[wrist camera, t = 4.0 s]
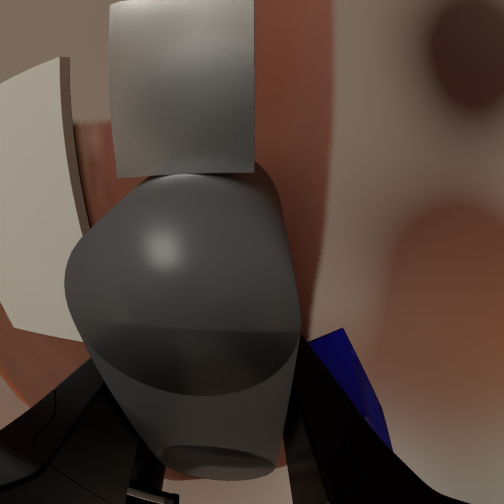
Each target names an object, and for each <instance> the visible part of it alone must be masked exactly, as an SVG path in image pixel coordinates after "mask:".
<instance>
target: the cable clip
mask: <svg viewBox="0 0 504 504" xmlns="http://www.w3.org/2000/svg"><path fill="white" fill-rule="evenodd" d="M309 345H310V346H311V347H312V349H313V350H314V351H315V353H316V354H317V355H318V357H319V358H320V359H321V361H322V362H323V364H324V365H325V366H326V368H327V369H328V370H329V372H330V373H331V374H332V376H333V377H334V378H335V380H336V381H337V382H338V384H339V385H340V386H341V388H342V389H343V390H344V392H345V393H346V394H347V396H348V397H349V398H350V400H351V401H352V402H353V404H354V405H355V406H356V408H357V409H358V410H359V413H361V414H362V416H363V417H364V418H365V420H366V421H367V422H368V424H369V425H370V426H371V427H372V429H373V430H374V431H375V432H376V434H377V435H378V436H379V437H380V438H381V439H382V441H383V442H384V443H385V444H386V445H387V446H388V447H389V448H390V449H391V450H392V451H393V449H392V445H391V441H390V437H389V433H388V429H387V425H386V421H385V418H384V414H383V410H382V407H381V405H380V403H379V401H378V398H377V396H376V394H375V392H374V390H373V388H372V385H371V383H370V381H369V379H368V377H367V375H366V373H365V371H364V369H363V367H362V365H361V363H360V360H359V358H358V357H357V354H356V352H355V350H354V348H353V346H352V344H351V342H350V340H349V338H348V336H347V334H346V332H345V330H344V329H343V328H340V329H338V330H335V331H333V332H331V333H328V334H326V335H323V336H321V337H318V338H316V339H313V340H311V341H309Z"/></svg>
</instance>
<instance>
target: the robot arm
mask: <svg viewBox="0 0 504 504" xmlns="http://www.w3.org/2000/svg"><path fill="white" fill-rule="evenodd" d="M283 440H284V446H285V453H286V460H287V467H288V473H289V479H290V487H291V493H292V500H293V504H469V503H466V502H463V501H460V500H457V499H454V498H451V497H448V496H445V495H443V494H440V493H438V492H437V491H435V490H433V489H432V488H431V487H429V486H428V485H427V484H426V483H424V482H423V481H422V480H421V479H420V478H419V477H418V476H417V475H416V474H415V473H414V472H413V471H412V470H411V469H410V468H409V467H408V466H407V465H406V464H405V463H404V462H403V461H402V460H401V459H400V458H399V457H398V456H397V455H396V454H395V453H394V452H393V451H392V450H391V449H390V448H389V447H388V446H387V445H386V444H385V443H384V442H383V441H382V439H381V438H380V437H379V436H378V435H377V434H376V432H375V431H374V430H373V429H372V427H371V426H370V425H369V424H368V422H367V421H366V420H365V418H364V417H363V416H362V414H361V413H359V410H358V409H357V408H356V406H355V405H354V404H353V402H352V401H351V400H350V398H349V397H348V396H347V394H346V393H345V392H344V390H343V389H342V388H341V386H340V385H339V384H338V382H337V381H336V380H335V378H334V377H333V376H332V374H331V373H330V372H329V370H328V369H327V368H326V366H325V365H324V364H323V362H322V361H321V359H320V358H319V357H318V355H317V354H316V353H315V351H314V350H313V349H312V347H311V346H310V345H309V343H308V342H307V341H306V339H305V338H304V337H303V335H302V334H301V332H300V339H299V345H298V352H297V358H296V364H295V370H294V376H293V382H292V387H291V393H290V398H289V404H288V409H287V414H286V419H285V424H284V429H283ZM165 469H166V465H164V464H163V463H162V462H160V461H159V460H158V458H157V457H156V456H155V455H154V453H153V452H152V451H151V449H150V448H149V447H148V446H147V444H146V443H145V442H144V440H143V439H142V437H141V436H140V435H139V433H138V432H137V431H136V429H135V428H134V426H133V425H132V423H131V422H130V421H129V419H128V418H127V416H126V415H125V413H124V412H123V410H122V409H121V407H120V406H119V404H118V402H117V401H116V399H115V398H114V396H113V394H112V393H111V391H110V390H109V388H108V386H107V384H106V383H105V381H104V379H103V378H102V376H101V374H100V372H99V371H98V369H97V367H96V365H95V363H94V362H93V360H92V358H91V357H90V358H89V359H88V360H87V361H86V362H84V363H83V364H82V365H81V366H80V367H79V368H77V369H76V370H75V371H74V372H73V373H72V374H70V375H69V376H68V377H67V378H66V379H65V380H63V381H62V382H61V383H60V384H59V385H58V386H57V387H56V388H55V389H53V390H52V391H51V392H50V393H48V394H47V395H46V396H45V397H44V398H43V399H41V400H40V401H39V402H38V403H37V404H35V405H34V406H33V407H32V408H30V409H29V410H28V411H26V412H25V413H24V414H23V415H21V416H20V417H18V418H17V419H15V420H14V421H13V422H11V423H10V424H8V425H7V426H6V427H4V428H3V429H1V430H0V504H159V503H155V502H151V501H147V500H144V499H140V498H137V497H134V496H130V495H127V493H128V494H132V495H135V496H138V497H141V498H145V499H148V500H152V501H156V502H160V503H164V504H179V494H175V493H173V494H171V493H168V492H164V491H162V487H163V481H164V475H165Z"/></svg>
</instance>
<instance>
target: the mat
mask: <svg viewBox="0 0 504 504" xmlns="http://www.w3.org/2000/svg"><path fill="white" fill-rule="evenodd" d="M89 230H90V226H89V222H88V217H87V213H86V208H85V203H84V198H83V193H82V188H81V182H80V176H79V170H78V164H77V157H76V150H75V142H74V133H73V123H72V111H71V95H70V58H69V57H58V58H55V59H53V60H50V61H47V62H45V63H43V64H40V65H38V66H36V67H33V68H31V69H29V70H27V71H25V72H23V73H20V74H18V75H16V76H14V77H12V78H10V79H8V80H6V81H4V82H2V83H0V302H1V304H2V306H3V308H4V310H5V311H6V313H7V315H8V317H9V319H10V321H11V323H12V325H13V326H14V328H18V329H23V330H27V331H31V332H36V333H40V334H45V335H50V336H54V337H60V338H65V339H70V340H76V341H81V342H83V340H82V338H81V336H80V334H79V332H78V330H77V328H76V326H75V324H74V321H73V319H72V317H71V314H70V312H69V309H68V306H67V301H66V297H65V288H64V278H65V270H66V266H67V262H68V259H69V257H70V254H71V252H72V250H73V248H74V247H75V246H76V244H77V243H78V241H79V240H80V239H81V238H82V237H83V236H84V235H85V234H86V233H87V232H88V231H89Z"/></svg>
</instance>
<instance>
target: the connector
mask: <svg viewBox="0 0 504 504" xmlns="http://www.w3.org/2000/svg"><path fill="white" fill-rule="evenodd" d="M109 92H110V109H111V123H112V135H113V144H114V153H115V162H116V170H117V177H118V178H127V177H139V176H149V177H148V178H146V179H145V180H144V181H143V182H142V183H140V184H139V185H138V186H137V187H136V188H135V189H133V190H132V191H131V192H130V193H129V194H128V195H127V196H125V197H124V198H123V199H122V200H121V201H120V202H119V203H118V204H116V205H115V206H114V207H113V208H112V209H111V210H110V211H109V212H108V213H107V214H105V215H104V216H103V217H102V218H101V219H100V220H99V221H98V222H97V223H96V224H95V225H94V226H93V227H92V228H91V229H90V230H89V231H88V232H87V233H86V234H85V235H84V236H83V237H82V238H81V239H80V240H79V241H78V243H77V244H76V246H75V247H74V248H73V250H72V252H71V254H70V257H69V259H68V262H67V266H66V270H65V278H64V288H65V297H66V301H67V306H68V309H69V312H70V314H71V317H72V319H73V321H74V324H75V326H76V328H77V330H78V332H79V334H80V336H81V338H82V340H83V342H84V344H85V346H86V348H87V350H88V352H89V354H90V356H91V358H92V360H93V362H94V363H95V365H96V367H97V369H98V371H99V372H100V374H101V376H102V378H103V379H104V381H105V383H106V384H107V386H108V388H109V390H110V391H111V393H112V394H113V396H114V398H115V399H116V401H117V402H118V404H119V406H120V407H121V409H122V410H123V412H124V413H125V415H126V416H127V418H128V419H129V421H130V422H131V423H132V425H133V426H134V428H135V429H136V431H137V432H138V433H139V435H140V436H141V437H142V439H143V440H144V442H145V443H146V444H147V446H148V447H149V448H150V449H151V451H152V452H153V453H154V455H155V456H156V457H157V458H158V460H159V461H160V462H162V463H163V464H164V465H166V466H168V467H170V468H171V469H174V470H176V471H179V472H181V473H184V474H187V475H191V476H195V477H200V478H205V479H212V480H225V481H237V480H249V479H255V478H259V477H263V476H266V475H268V474H270V473H271V472H273V470H274V469H275V466H276V462H277V457H278V453H279V448H280V443H281V439H282V434H283V429H284V424H285V419H286V414H287V409H288V404H289V398H290V393H291V387H292V382H293V376H294V370H295V364H296V358H297V352H298V345H299V339H300V332H301V312H300V305H299V299H298V293H297V287H296V282H295V276H294V271H293V265H292V260H291V254H290V249H289V243H288V238H287V233H286V228H285V223H284V218H283V213H282V208H281V203H280V198H279V195H278V192H277V189H276V187H275V185H274V183H273V181H272V180H271V178H270V177H269V175H268V174H267V173H266V171H265V170H264V169H263V168H262V167H261V166H260V165H259V164H257V163H256V162H255V1H254V0H126V1H122V2H118V3H115V4H111V5H110V20H109Z"/></svg>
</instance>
